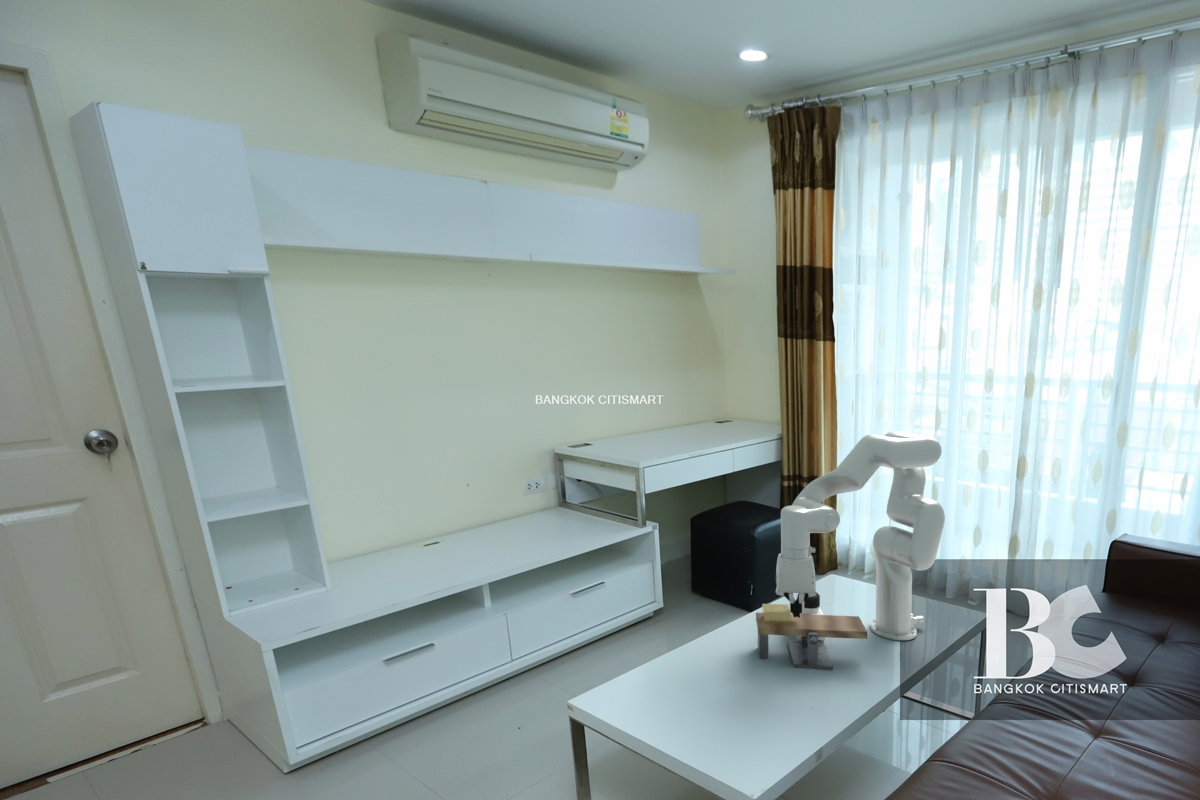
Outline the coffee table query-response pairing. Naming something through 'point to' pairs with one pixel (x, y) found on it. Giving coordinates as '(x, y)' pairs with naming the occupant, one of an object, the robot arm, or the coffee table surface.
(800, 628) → the beam
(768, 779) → the coffee table surface
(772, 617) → the slider
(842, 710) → the coffee table surface
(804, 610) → the container
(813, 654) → the stand
